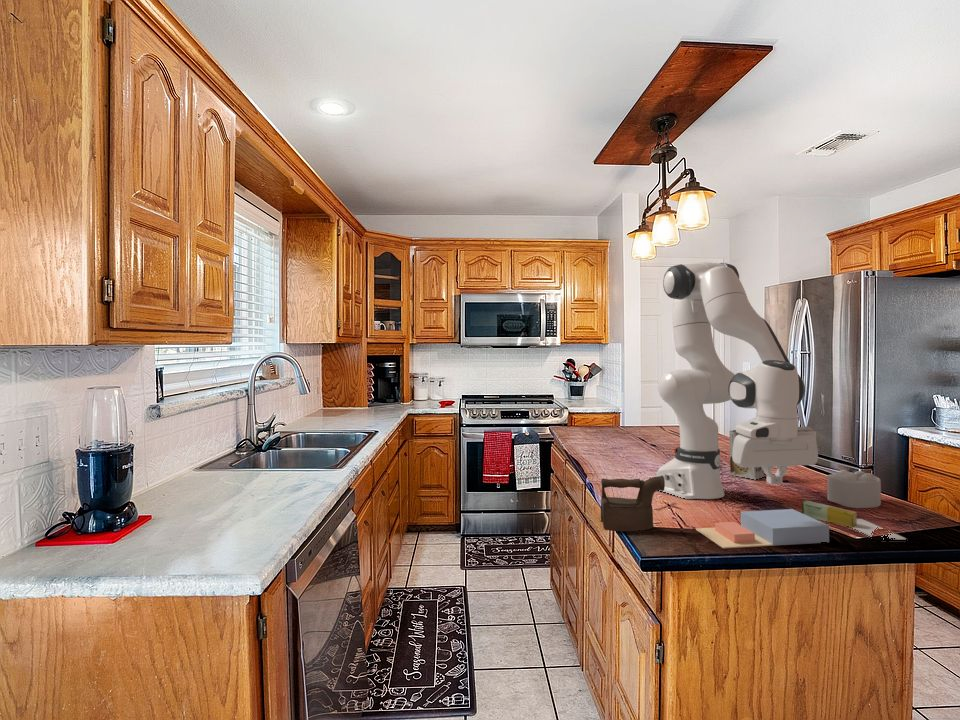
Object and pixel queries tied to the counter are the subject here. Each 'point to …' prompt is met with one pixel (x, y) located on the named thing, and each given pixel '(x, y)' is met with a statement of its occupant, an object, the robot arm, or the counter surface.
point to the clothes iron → (629, 505)
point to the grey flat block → (785, 527)
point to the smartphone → (868, 527)
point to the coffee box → (743, 471)
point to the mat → (727, 543)
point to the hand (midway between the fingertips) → (774, 483)
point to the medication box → (829, 513)
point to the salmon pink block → (734, 532)
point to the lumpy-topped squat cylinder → (854, 489)
